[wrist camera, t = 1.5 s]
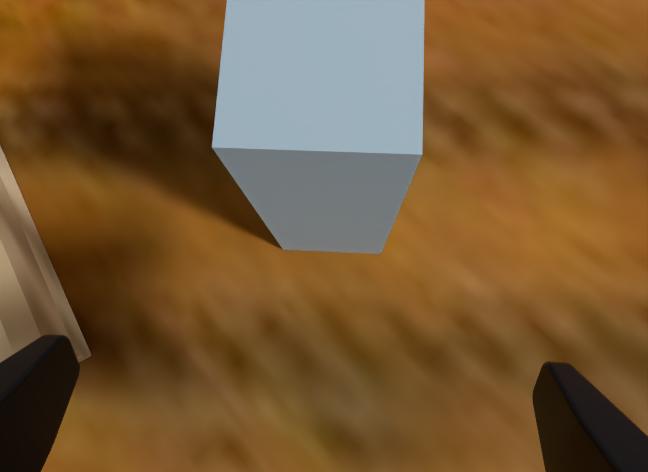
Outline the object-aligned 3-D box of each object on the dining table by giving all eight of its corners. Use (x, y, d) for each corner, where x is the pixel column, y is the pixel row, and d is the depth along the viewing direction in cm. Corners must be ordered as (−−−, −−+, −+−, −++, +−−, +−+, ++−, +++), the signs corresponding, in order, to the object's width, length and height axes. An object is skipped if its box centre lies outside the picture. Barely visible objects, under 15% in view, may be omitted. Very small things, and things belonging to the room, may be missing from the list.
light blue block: (380, 254, 23) (422, 154, 10) (283, 249, 23) (211, 147, 11) (383, 150, 24) (425, -51, 11) (290, 147, 24) (232, -53, 12)
